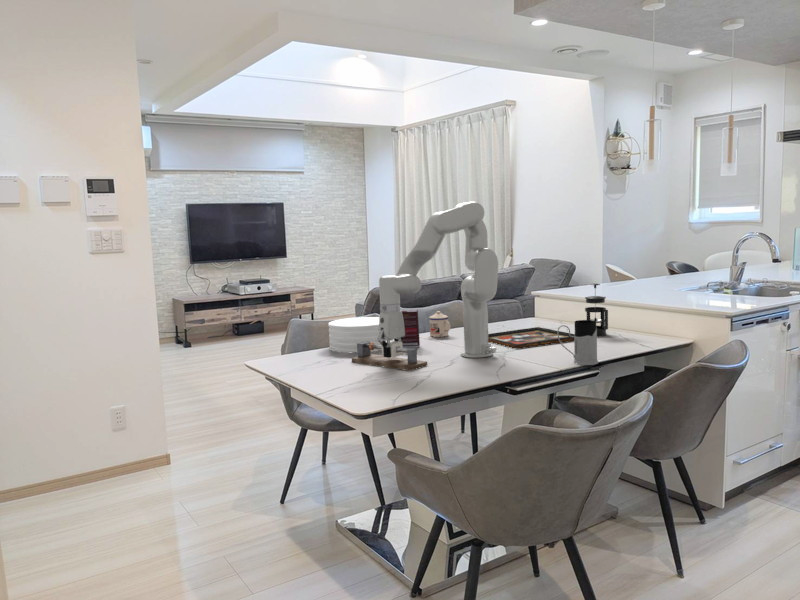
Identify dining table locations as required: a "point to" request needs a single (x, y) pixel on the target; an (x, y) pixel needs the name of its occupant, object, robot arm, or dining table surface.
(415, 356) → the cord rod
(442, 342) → the dining table surface
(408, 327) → the supplement box
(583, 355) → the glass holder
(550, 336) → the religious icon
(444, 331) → the teacup with lid
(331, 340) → the plate stack
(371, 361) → the base board
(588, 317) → the french press
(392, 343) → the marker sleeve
